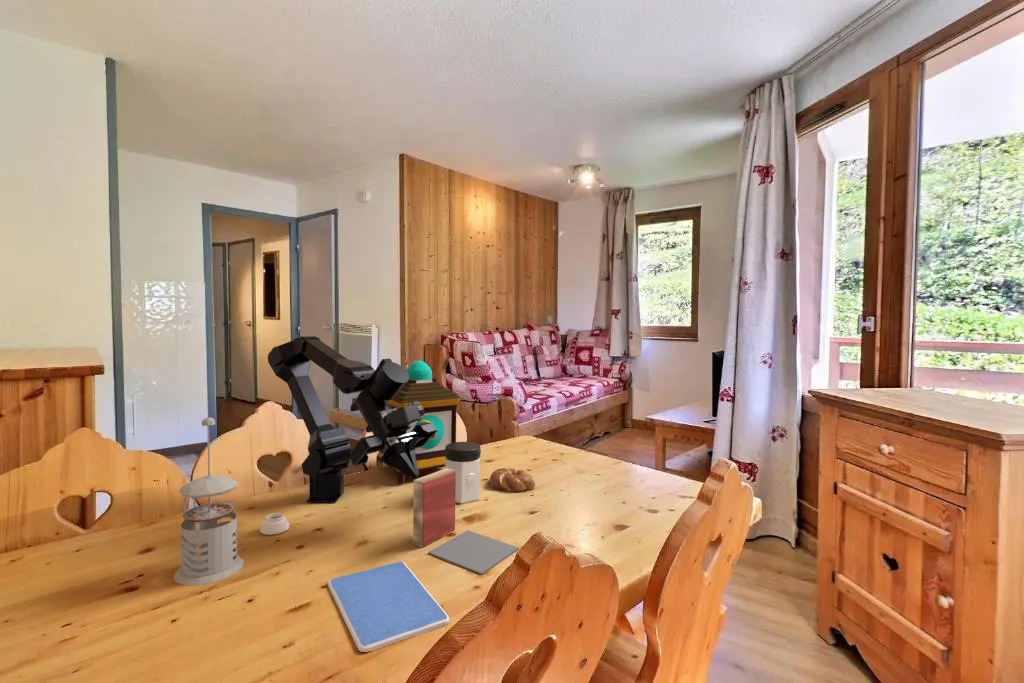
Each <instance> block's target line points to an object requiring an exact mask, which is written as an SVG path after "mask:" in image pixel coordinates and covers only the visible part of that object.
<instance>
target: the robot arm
mask: <svg viewBox="0 0 1024 683" xmlns="http://www.w3.org/2000/svg"><path fill="white" fill-rule="evenodd" d="M267 354H268V355H267V363H268V365H269V367H270V368H271V370H272V371H273V373H274V374H275V376H276V377H278V378H279V379H281V380H282V381H283V382H285V383H286V385H287V386H288V388H289V390H290V392H291V395H292V397H293V399H294V402H295V404H296V407H297V409H298V411H299V414H300V415H301V418H302V420H303V422H304V425H305V427H306V430H307V431H308V434H309V440H308V445H307V452H308V455H307V457H306V458H305V459H304V461H303V462H302V463H301V468H302V469H301V470H302V474H304V475H307V476H309V478H308V479H309V480H308V482H309V483H308V484H309V486H308V487H309V494H308V495H309V497H307V499H306V503H337V501H339V499H340V498H341V497H342V495H343V494H344V493H345V488H344V487H345V486H344V485H345V483H344V482H345V477H344V475H342V470H344V469H348V468H349V463H350V461H351V463H352V465H353V466H354V467H357V466H362V465H365V464H367V463H368V461H369V455H371V454H374V453H378V452H379V451H380V453H381V455H382V457H381V458H380V459H379V462H380V463H381V462H384V463H383V464H385V463H386V464H388V465H390V466H392V467H394V468H396V469H398V470H399V471H401V472H403V473H404V474H406V475H405V476H408V477H409V478H410V479H413V480H416V479H418V478H420V477H419V476H420V471H418V466H417V461H416V455H415V449H417V448H420V447H423V446H424V445H425V444H426V443H427V442H428V441H429V440H430V439H431V437H432V436H433V435H434V434H435V433H436V432H437V430H436V428H435V427H434V425H433V424H432V423H429V422H427V423H423V424H419V425H416V426H415V428H414V429H413V430H412V431H411V432H410V433H408V434H406V431H407V430H409V429H410V427H411V425H410V424H411V423H413V422H415V421H417V420H418V421H420V420H421V416H423V415H424V413H425V412H424V408H423V406H422V405H421V404H420V403H419V401H416V402H412V404H408V406H405V407H401V408H399V409H397V408H395V409H392V408H391V407H390V405H389V403H388V402H387V400H392V399H394V397H395V396H396V395H397V394H398V392H399V391H400V390H401V389H402V387H403V386H404V385H405V384H406V382H407V381H408V379H409V374H408V372H407V369H406V368H405V367H403V366H402V365H400V364H399V363H397V362H394V361H392V358H390V357H389V358H382V359H381V360H380V362H379V364H378V366H377V367H376V368H375V369H374V368H373V367H372V365H370V364H367V363H364V362H361V361H357V360H352V359H349V358H347V357H345V356H344V355H343V354H341V353H339V352H338V351H336V350H335V349H334V348H332V347H330V345H328V344H326V343H324V341H322V340H321V339H320V337H318V336H315V335H307V336H306V335H301V336H298V337H295V338H294V339H292V340H291V341H287V342H285V343H283V344H279V345H276V346H274V347H273V348H272V349H271V350H270V351H269V352H268V353H267ZM311 362H313V363H314V364H315V365H317V366H318V367H319V368H321V369H322V370H323V371H324V372H327V374H329V375H330V376H331V377H332V383H333V385H335V386H336V388H337V389H338V390H340V392H341V393H342V394H345V395H350V394H356V393H357V394H358V393H359V394H358V395H357V397H353V398H352V399H351V400H352V402H351V405H350V409H349V410H350V412H356V411H358V412H359V413H360V414H361V417H362V418H363V419H364V421H365V423H366V425H367V426H366V427H365V428H364V430H365V431H366V433H372V434H371V435H368V436H363V437H361V438H360V439H359V440H358V441H357V443H355V446H353V448H352V446H351V441H350V439H349V438H348V436H347V434H346V433H347V432H346V431H345V429H344V428H343V427H341V426H340V427H338V428H336V427H334V426H333V425H332V423H331V422H330V419H329V417H328V415H327V413H326V411H325V408H324V406H323V404H322V402H321V400H320V398H319V395H318V394H317V390H316V388H315V386H314V384H313V382H312V380H311V377H310V376H309V370H310V366H311ZM386 464H385V465H386Z"/></svg>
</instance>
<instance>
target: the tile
mask: <svg viewBox="0 0 1024 683" xmlns="http://www.w3.org/2000/svg"><path fill="white" fill-rule="evenodd" d="M455 494H456V470H452V469H448V468H446V469H445V468H444V469H441V470H438V471H435V472H432V473H429V474H427V475H424V476H421V477H418V478H416V479H413V503H412V504H413V507H412V508H413V513H412V514H413V517H412V519H413V520H412V531H413V532H412V545H414V546H417V547H419V548H421V549H422V548H424V547H426V546H428V545H430V544H432V543H434V542H436V541H438V540H440V539H442V538H444V537H445V536H447V535H450V534H451V533H452V532H453V533H454V532H455V531H456V502H455Z"/></svg>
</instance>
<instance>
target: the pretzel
mask: <svg viewBox="0 0 1024 683" xmlns="http://www.w3.org/2000/svg"><path fill="white" fill-rule="evenodd" d="M535 482H536V481H535V480H534V479H533V476H532V475H531V474H530V473H527V472H526V471H525V470H522V469H518V470H516V469H515V468H512V467H511V468H505V467H504V468H497V469H495V470H494V471H493V472H492V473H491V474H490V477H489V483H490V486H491V487H492V489H494V490H496V491H507V492H514V493H520V491H521V492H524V491H526V490H529V491H532V490H533V489H534V488H535V486H536V483H535ZM531 489H532V490H531Z"/></svg>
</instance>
